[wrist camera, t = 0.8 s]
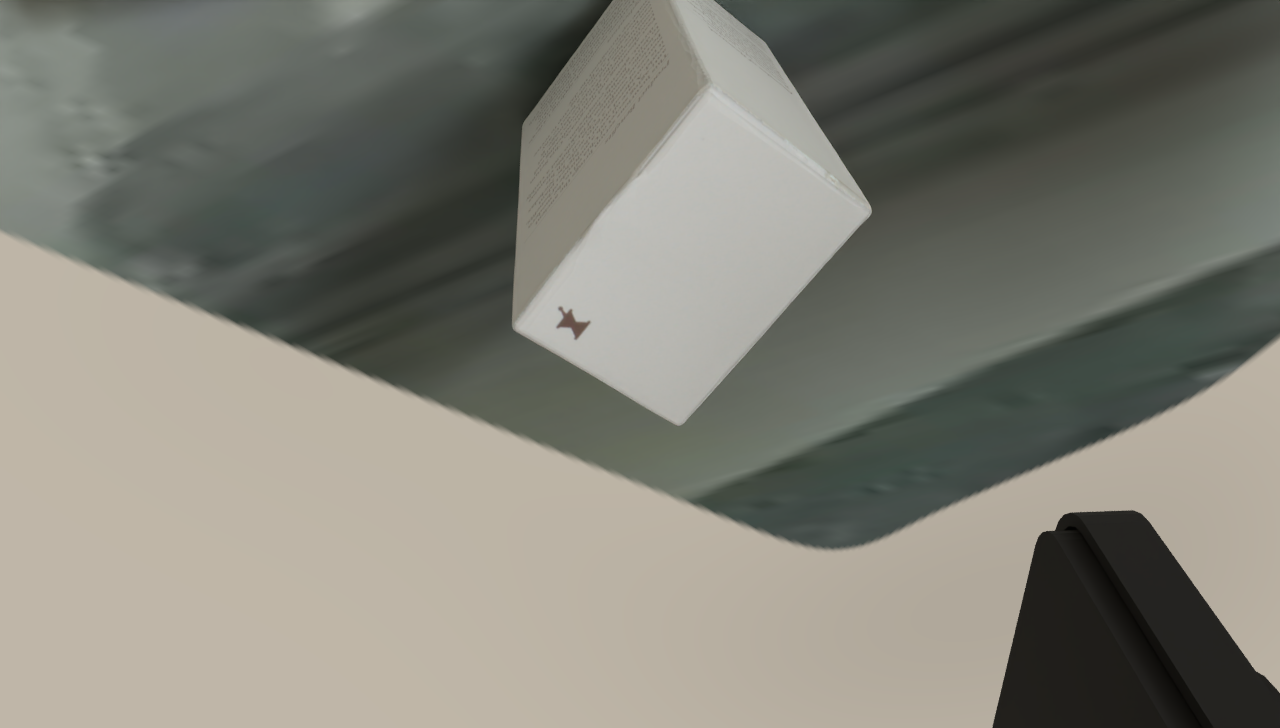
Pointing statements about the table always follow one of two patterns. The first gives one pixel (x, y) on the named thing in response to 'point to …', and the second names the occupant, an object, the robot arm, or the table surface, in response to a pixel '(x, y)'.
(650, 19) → the skincare box
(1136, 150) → the table surface
